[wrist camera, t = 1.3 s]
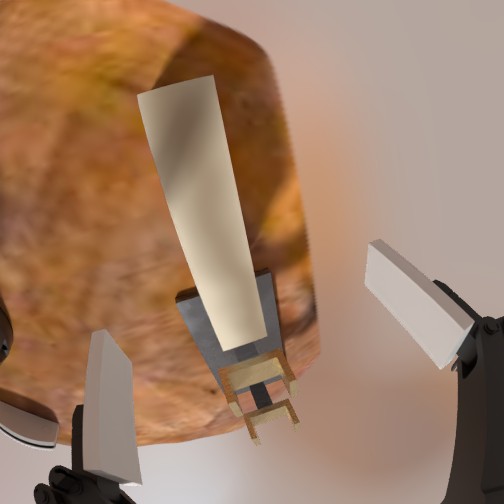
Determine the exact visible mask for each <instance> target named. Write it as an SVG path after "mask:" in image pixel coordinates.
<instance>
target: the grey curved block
mask: <svg viewBox="0 0 504 504" xmlns="http://www.w3.org/2000/svg"><path fill="white" fill-rule="evenodd" d="M0 431H1V432H2V433H3V434H5V435H6V436H7V437H9V438H10V439H12V440H14V441H16V442H18V443H20V444H22V445H24V446H27V447H30V448H34V449H38V450H46V451H52V450H54V449H55V447H56V442H57V438H58V433H59V424H58V423H55V422H52V421H49V420H46V419H43V418H41V417H38V416H35V415H32V414H30V413H27V412H25V411H22V410H20V409H18V408H15V407H13V406H11V405H8V404H6V403H4V402H2V401H0Z"/></svg>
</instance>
